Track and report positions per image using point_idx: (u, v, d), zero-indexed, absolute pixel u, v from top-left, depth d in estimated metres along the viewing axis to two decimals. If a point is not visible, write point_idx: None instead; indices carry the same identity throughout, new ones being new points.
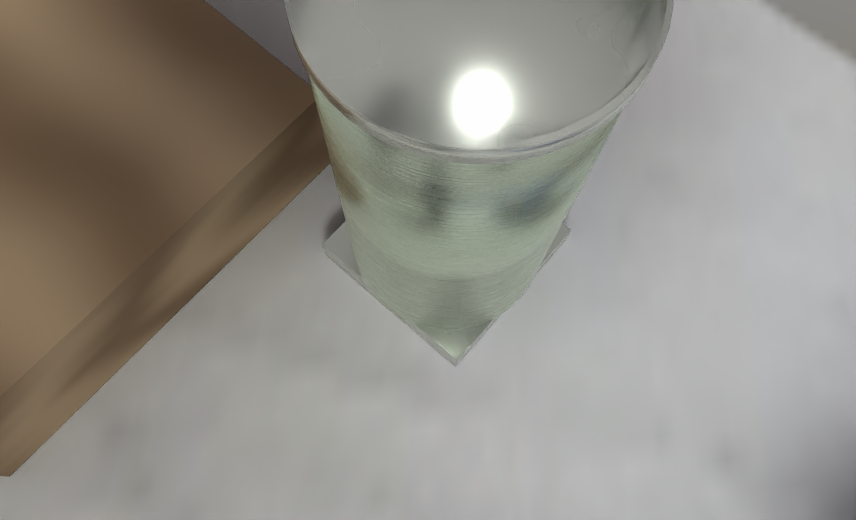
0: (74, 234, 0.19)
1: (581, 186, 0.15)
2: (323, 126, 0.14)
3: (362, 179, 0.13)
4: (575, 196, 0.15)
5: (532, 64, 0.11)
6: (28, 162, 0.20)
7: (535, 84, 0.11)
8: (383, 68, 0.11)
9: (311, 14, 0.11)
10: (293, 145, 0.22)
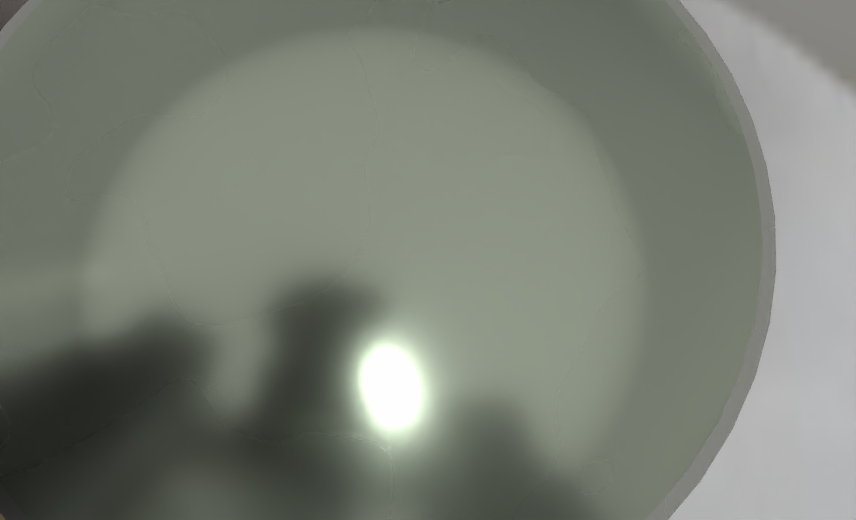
0: None
1: None
2: None
3: None
4: None
5: (461, 419, 0.05)
6: None
7: (463, 475, 0.05)
8: (114, 432, 0.05)
9: None
10: None
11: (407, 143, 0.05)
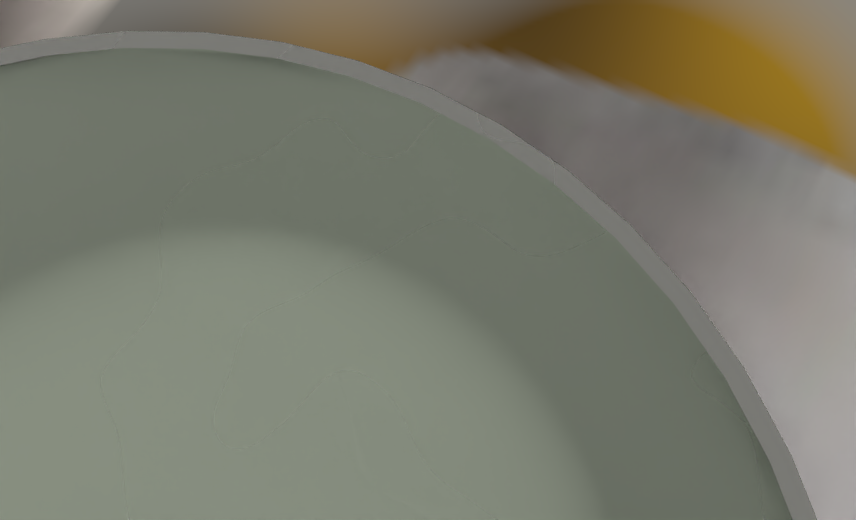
0: None
1: None
2: None
3: None
4: None
5: None
6: None
7: None
8: None
9: None
10: None
11: None
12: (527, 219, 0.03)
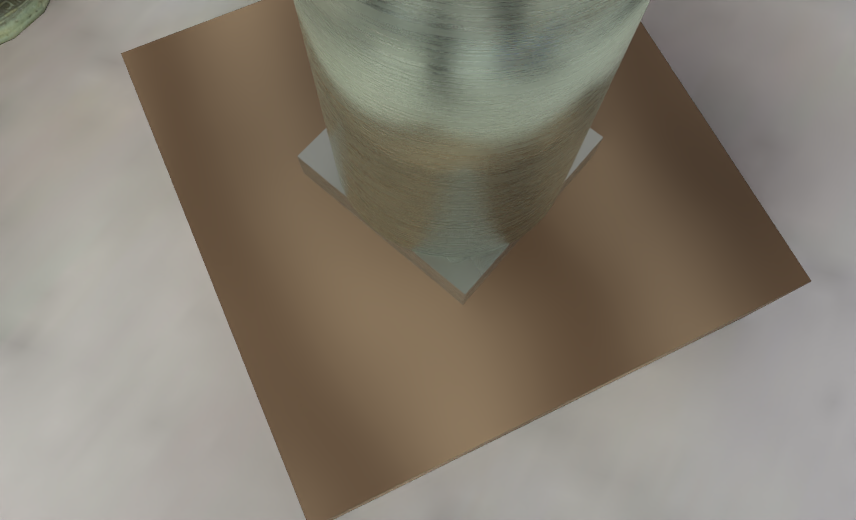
0: (516, 334, 0.18)
1: (639, 20, 0.11)
2: None
3: None
4: (630, 36, 0.11)
5: None
6: None
7: None
8: None
9: None
10: (746, 313, 0.19)
11: None
12: None
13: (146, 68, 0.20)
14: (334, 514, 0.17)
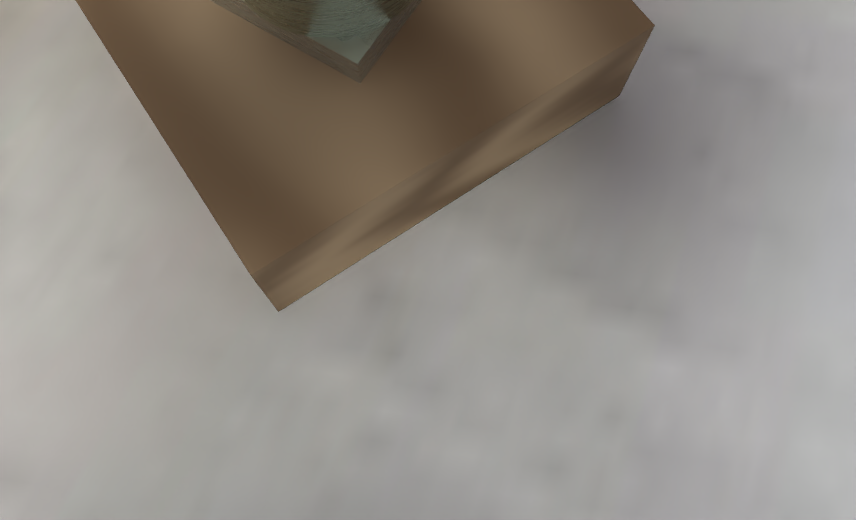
0: (409, 100, 0.21)
1: None
2: None
3: None
4: None
5: None
6: None
7: None
8: None
9: None
10: (609, 69, 0.22)
11: None
12: None
13: None
14: (270, 261, 0.19)
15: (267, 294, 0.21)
